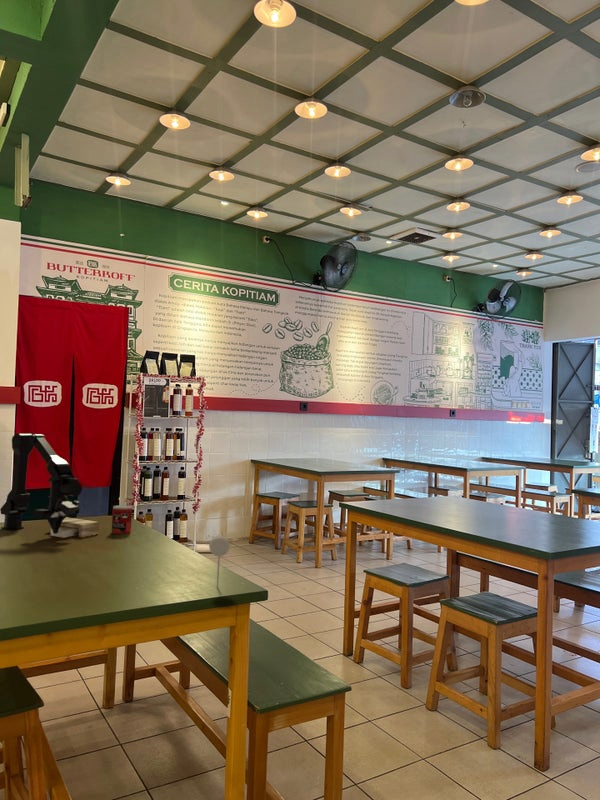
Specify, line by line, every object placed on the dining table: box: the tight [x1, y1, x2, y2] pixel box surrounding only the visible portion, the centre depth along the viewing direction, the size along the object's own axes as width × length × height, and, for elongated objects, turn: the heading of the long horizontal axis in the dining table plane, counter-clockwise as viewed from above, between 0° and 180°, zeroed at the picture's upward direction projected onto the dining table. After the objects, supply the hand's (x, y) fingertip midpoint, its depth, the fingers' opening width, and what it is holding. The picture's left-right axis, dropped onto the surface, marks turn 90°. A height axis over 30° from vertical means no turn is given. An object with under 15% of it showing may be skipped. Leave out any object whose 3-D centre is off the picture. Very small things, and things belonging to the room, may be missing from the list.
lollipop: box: [208, 535, 231, 588], centre depth 177 cm, size 6×6×15 cm
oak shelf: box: [48, 517, 100, 538], centre depth 246 cm, size 18×9×5 cm, turn 66°
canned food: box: [111, 504, 133, 535], centre depth 252 cm, size 8×8×11 cm
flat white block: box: [50, 526, 79, 538], centre depth 243 cm, size 7×12×2 cm, turn 156°
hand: (55, 533), depth 237 cm, fingers closed
